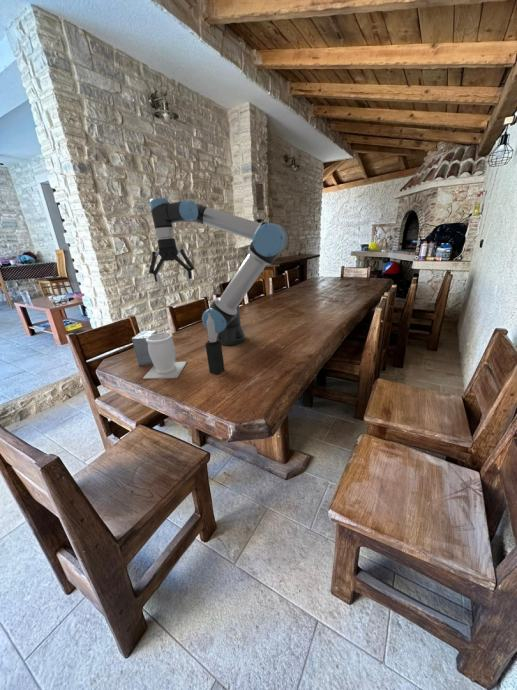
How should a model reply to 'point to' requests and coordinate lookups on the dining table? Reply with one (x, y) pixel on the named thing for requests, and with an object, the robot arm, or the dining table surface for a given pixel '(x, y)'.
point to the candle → (214, 349)
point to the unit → (142, 347)
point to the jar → (162, 352)
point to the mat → (173, 374)
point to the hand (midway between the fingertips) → (175, 287)
